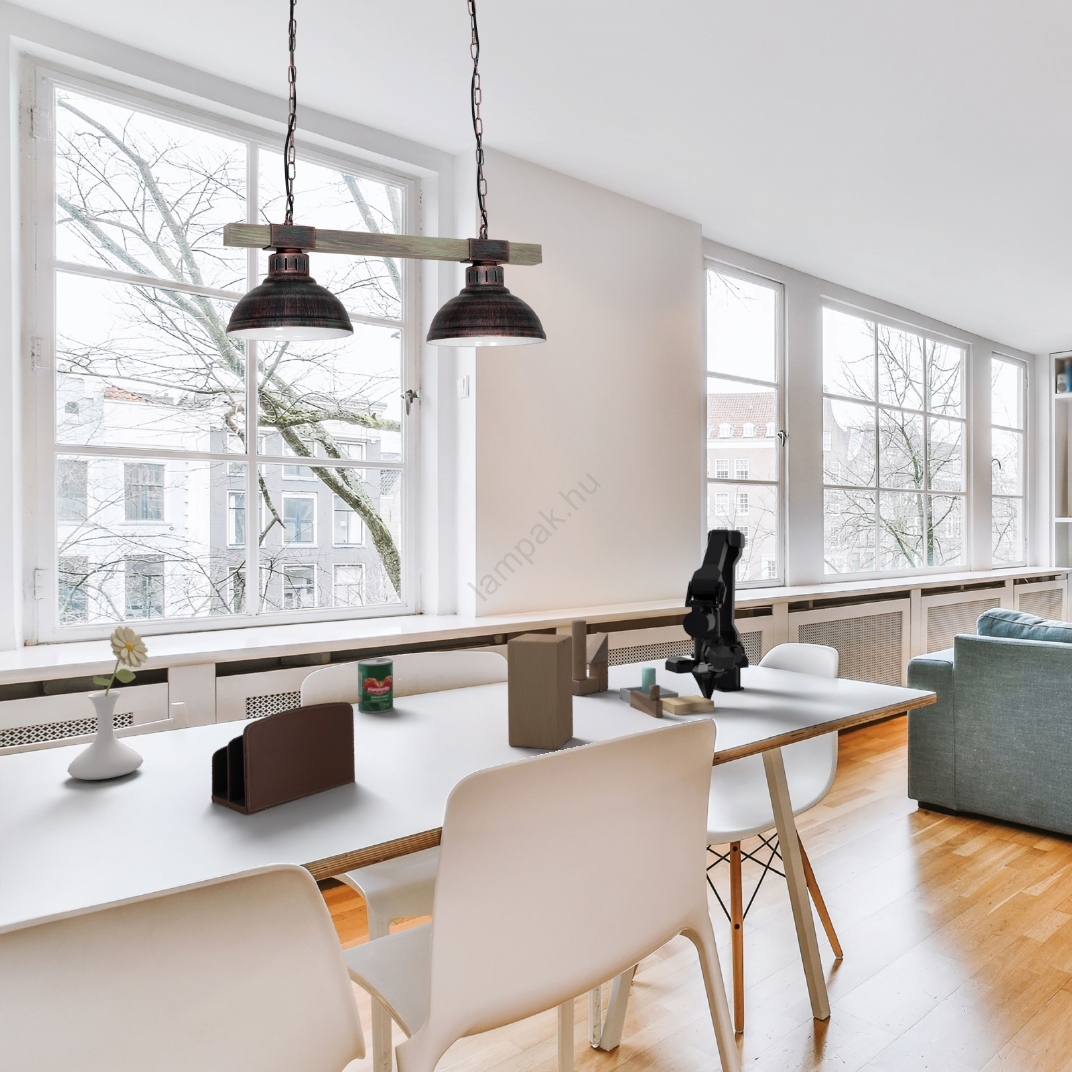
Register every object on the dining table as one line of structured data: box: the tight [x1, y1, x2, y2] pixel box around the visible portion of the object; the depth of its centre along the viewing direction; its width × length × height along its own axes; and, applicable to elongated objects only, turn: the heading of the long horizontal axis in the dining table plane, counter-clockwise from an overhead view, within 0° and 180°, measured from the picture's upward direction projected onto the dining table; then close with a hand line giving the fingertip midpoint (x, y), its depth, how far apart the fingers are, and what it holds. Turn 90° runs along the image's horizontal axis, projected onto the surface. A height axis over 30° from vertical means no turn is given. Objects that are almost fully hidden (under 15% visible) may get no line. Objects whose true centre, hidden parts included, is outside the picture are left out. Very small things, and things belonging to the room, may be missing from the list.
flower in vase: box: [66, 625, 149, 781], centre depth 140 cm, size 13×11×25 cm
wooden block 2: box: [571, 619, 609, 697], centre depth 202 cm, size 4×11×18 cm, turn 135°
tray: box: [619, 685, 679, 704], centre depth 191 cm, size 10×10×2 cm
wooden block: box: [507, 633, 574, 751], centre depth 157 cm, size 10×10×20 cm
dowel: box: [641, 667, 657, 695], centre depth 191 cm, size 3×3×7 cm
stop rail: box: [629, 684, 664, 719], centre depth 181 cm, size 2×12×6 cm, turn 20°
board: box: [660, 694, 715, 716], centre depth 183 cm, size 10×7×2 cm
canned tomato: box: [357, 657, 394, 714], centre depth 186 cm, size 8×8×11 cm
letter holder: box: [210, 701, 356, 816], centre depth 130 cm, size 10×20×14 cm, turn 141°
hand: (707, 700), depth 185 cm, fingers closed
